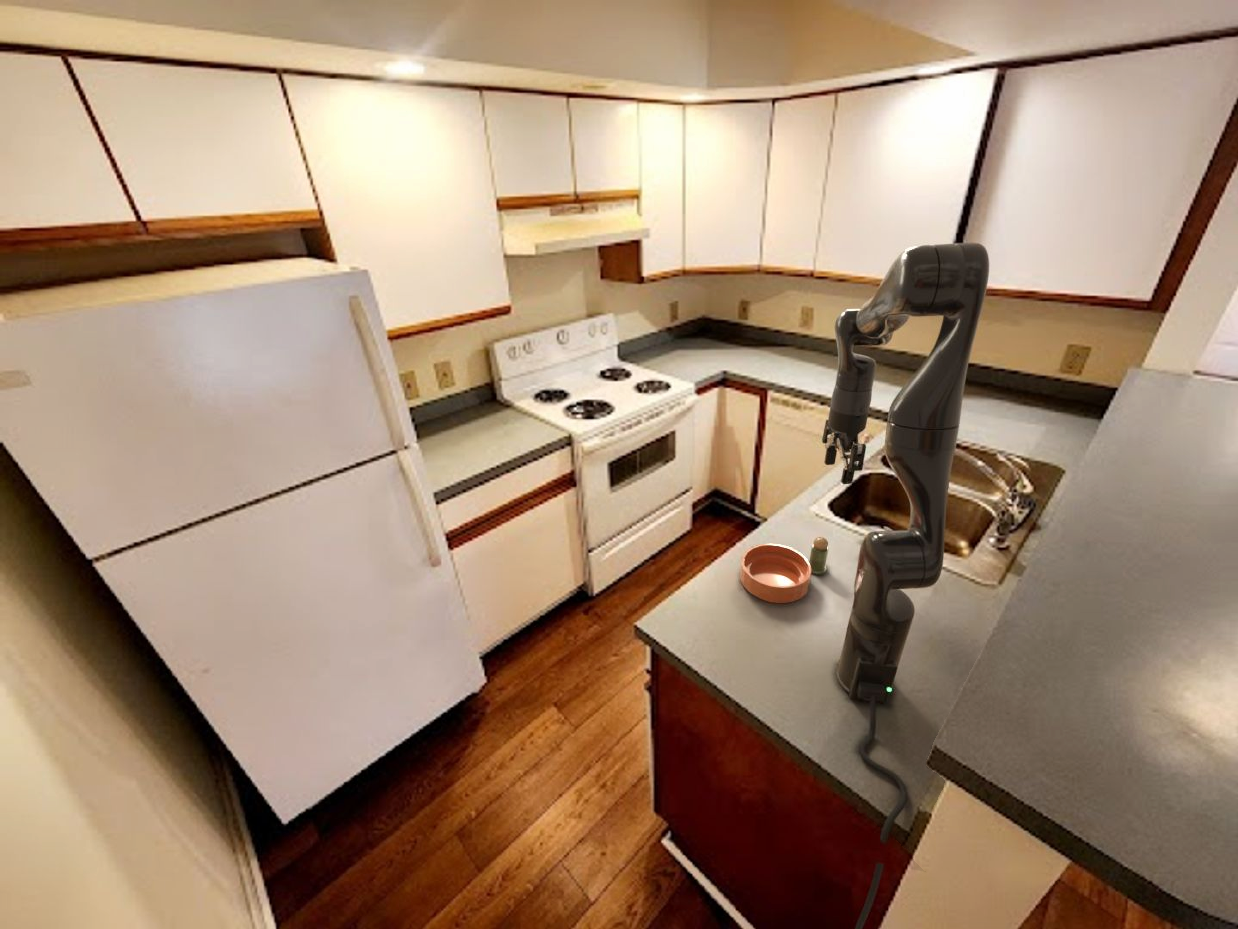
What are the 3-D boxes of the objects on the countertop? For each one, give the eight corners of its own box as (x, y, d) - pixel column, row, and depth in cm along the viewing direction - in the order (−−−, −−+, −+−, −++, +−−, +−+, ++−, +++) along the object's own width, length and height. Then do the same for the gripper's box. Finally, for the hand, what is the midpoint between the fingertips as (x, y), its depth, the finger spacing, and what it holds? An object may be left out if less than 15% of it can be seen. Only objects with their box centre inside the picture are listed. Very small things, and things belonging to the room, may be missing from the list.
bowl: (811, 608, 115) (814, 591, 113) (739, 600, 118) (741, 583, 116) (805, 563, 128) (807, 547, 125) (740, 557, 131) (741, 541, 128)
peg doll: (827, 575, 124) (833, 545, 119) (807, 574, 125) (812, 543, 120) (824, 563, 128) (830, 533, 123) (805, 562, 128) (810, 531, 124)
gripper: (818, 395, 117) (808, 459, 125) (848, 421, 104) (835, 491, 112) (851, 392, 117) (839, 457, 125) (885, 418, 105) (869, 488, 113)
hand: (837, 473), depth 119 cm, fingers open, 8 cm apart
